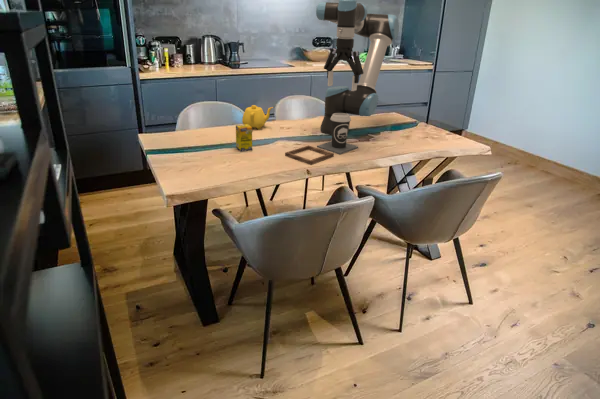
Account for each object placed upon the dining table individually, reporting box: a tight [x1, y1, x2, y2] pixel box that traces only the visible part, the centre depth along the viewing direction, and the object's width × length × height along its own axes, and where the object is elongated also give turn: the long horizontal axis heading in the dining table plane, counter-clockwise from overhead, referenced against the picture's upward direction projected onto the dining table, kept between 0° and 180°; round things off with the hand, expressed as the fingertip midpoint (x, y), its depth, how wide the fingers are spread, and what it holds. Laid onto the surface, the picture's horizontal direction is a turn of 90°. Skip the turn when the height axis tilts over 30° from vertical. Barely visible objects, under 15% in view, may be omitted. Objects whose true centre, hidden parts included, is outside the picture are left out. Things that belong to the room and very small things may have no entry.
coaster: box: [316, 140, 360, 155], centre depth 207 cm, size 14×14×1 cm
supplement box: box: [235, 124, 253, 152], centre depth 199 cm, size 6×6×11 cm
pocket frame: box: [284, 145, 335, 166], centre depth 195 cm, size 15×15×2 cm
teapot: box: [241, 104, 274, 130], centre depth 232 cm, size 14×14×12 cm
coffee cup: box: [330, 113, 352, 148], centre depth 204 cm, size 10×10×15 cm
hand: (341, 88), depth 196 cm, fingers open, 13 cm apart
